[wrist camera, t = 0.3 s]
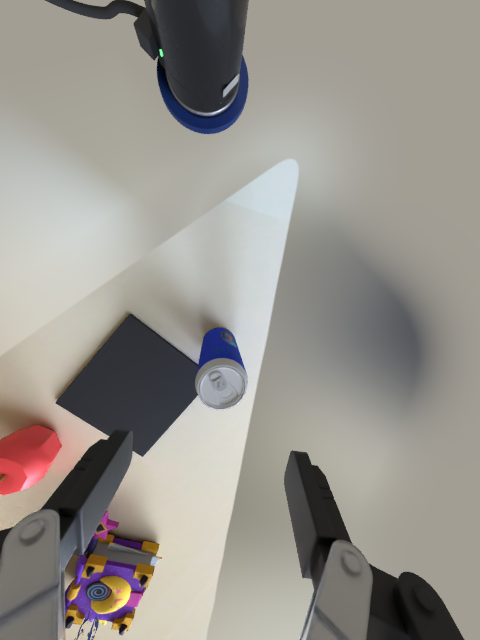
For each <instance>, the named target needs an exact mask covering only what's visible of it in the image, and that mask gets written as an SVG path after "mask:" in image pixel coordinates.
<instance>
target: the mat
mask: <svg viewBox="0 0 480 640" xmlns="http://www.w3.org/2000/svg"><path fill="white" fill-rule="evenodd" d="M197 369H198V365H197V364H196V363H195V362H193V361H192V360H191V359H189V358H188V357H187V356H186V355H184V354H183V353H182V352H180V351H179V350H178V349H176V348H175V347H174V346H172V345H171V344H170V343H168V342H167V341H166V340H165V339H163V338H162V337H161V336H159V335H158V334H157V333H155V332H154V331H153V330H151V329H150V328H149V327H148V326H146V325H145V324H144V323H142V322H141V321H140V320H138V319H137V318H136V317H134V316H133V315H132V314H129V315H128V317H127V318H126V319H125V320H124V321H123V323H122V324H121V325H120V326H119V327H118V329H117V330H116V331H115V332H114V333H113V335H112V336H111V337H110V338H109V339H108V341H107V342H106V343H105V344H104V345H103V347H102V348H101V349H100V350H99V351H98V353H97V354H96V355H95V356H94V357H93V358H92V360H91V361H90V362H89V363H88V364H87V366H86V367H85V368H84V369H83V370H82V372H81V373H80V374H79V375H78V376H77V378H76V379H75V380H74V381H73V382H72V384H71V385H70V386H69V387H68V388H67V390H66V391H65V392H64V393H63V394H62V396H61V397H60V398H59V399H58V400H57V401H56V404H58V405H59V406H61V407H63V408H64V409H66V410H68V411H69V412H71V413H72V414H74V415H76V416H77V417H79V418H80V419H82V420H84V421H85V422H87V423H89V424H90V425H92V426H93V427H95V428H97V429H98V430H100V431H102V432H103V433H105V434H106V435H108V436H110V435H111V434H112V433H113V431H114V430H115V429H123V430H131V431H133V446H132V451H134V452H136V453H137V454H139V455H141V456H142V457H143V456H144V455H145V454H146V453H147V451H148V450H149V449H150V448H151V447H152V446H153V445H154V444H155V443H156V441H157V440H158V439H159V438H160V437H161V436H162V435H163V434H164V432H165V431H166V430H167V429H168V428H169V427H170V426H171V425H172V423H173V422H174V421H175V420H176V419H177V418H178V417H179V416H180V414H181V413H182V412H183V411H184V410H185V409H186V408H187V407H188V406H189V404H190V403H191V402H192V401H193V400H194V399H195V398H196V397H197V395H198V394H197V391H196V388H195V379H196V374H197Z"/></svg>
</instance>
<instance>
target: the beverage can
mask: <svg viewBox="0 0 480 640" xmlns="http://www.w3.org/2000/svg"><path fill="white" fill-rule="evenodd" d="M247 386H248V377H247V374H246V371H245V368H244V365H243V362H242V359H241V355H240V352H239V349H238V346H237V343H236V340H235V337H234V335H233V334H232V333H231V332H230V331H229V330H227V329H225V328H214V329H212V330H210V331H209V332H208V333H207V334H206V335H205V337H204V339H203V343H202V348H201V354H200V359H199V364H198V369H197V374H196V379H195V388H196V391H197V394H198V396H199V398H200V400H201V401H202V402H203V403H204V404H205V405H206V406H208V407H210V408H212V409H216V410H225V409H229V408H231V407H234V406H235V405H237V404H238V403H239V402H240V401H241V400H242V398H243V397H244V395H245V392H246V389H247Z"/></svg>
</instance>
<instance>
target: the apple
mask: <svg viewBox="0 0 480 640" xmlns="http://www.w3.org/2000/svg"><path fill="white" fill-rule="evenodd" d="M61 447H62V445H61V443H60V441H59V439H58V437H57V434H56V432H55V431H52V430H50V429H47V428H45V427H42V426H40V425H35V426H31V427H27V428H24V429H20V430H18V431H16V432H14V433H12V434H10V435H9V436H7V437H5V438H3V439H1V440H0V494H1V495H6V494H10V493H13V492H17V491H20V490H23V489H26V488H28V487H31V486H34V485H35V484H36V483H37V482H38V481H40V480H41V479H42V478H43V477H44V476H45V474H46V472H47V471H48V469H49V467H50V466H51V464H52V462H53V461H54V459H55V457H56V455H57V454H58V452H59V450H60V448H61Z"/></svg>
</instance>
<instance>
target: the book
mask: <svg viewBox="0 0 480 640" xmlns="http://www.w3.org/2000/svg"><path fill="white" fill-rule="evenodd" d="M118 524H119V522H115V521H112V520H109V519H108V511H106V512H105V514H104V516H103V518H102V519H101V521H100V523H99V525H98V527H97V529H96V531H95V533H94V536H93V537H92V538H91V540H90V542H89V544H88V546H87V548H86V550H85V552H84V554H83V555H80V556H79V559H78V561H77V565H76V575H77V577H76V578H75V579H74V580H73V581H72V582H71V584H70V585H69V586H68V588H67V590H66V592H65V628H70V627H71V625H72V624H80V625H81V624H82V621H83V619H84V618H85V620H84V622H83V624H84V623H85V622H86V621H87V620H88V618H89V621H90V622H92V621H93V620H94V621H95V627H96V630H97V628H98V623H101V622H102V623H103V624H104V625H106V621H111V622H112V623H113V625H112V628H111V629H115V630H119V635H123V633H124V632H125V631H128V629H129V627H130V625H131V623H132V620H133V618H134V613H135V609H134V608H135V607H137V606H138V604H139V602H140V599H141V597H142V596H143V593H144V591H145V590H146V588H147V587H148V584H149V582H150V580H151V578H152V576H153V572H154V567H155V566H153V565H154V564H156V563H157V562H158V561H160V560H161V559H162V557H157V556H156V554H157V551H158V548H159V544H157V543H152V542H147V541H144V542H143V543H138V542H133V541H128V540H123V539H118V538H114V535H109V534H107V533H108V531H109V530H112V529H114V528H117V527H118ZM87 551H88V553H87ZM86 553H87V554H86ZM85 554H86V555H85ZM84 555H85V556H84ZM86 618H87V619H86ZM95 619H96V620H97V621H96V620H95ZM83 624H82V625H83ZM87 624H88V623H87ZM82 625H81V627H82ZM93 625H94V622H93ZM93 625H92V628H93ZM81 627H80V629H81ZM92 628H91V631H90V632H89V633H90V634H89V633H88V640H90V637H91V634H92ZM80 629H79V632H80ZM94 630H95V629H94ZM81 631H82V632H83V629H82V630H81ZM79 632H78V637H79V635H80V634H81V633H82V632H81V633H80V634H79ZM95 634H96V632H95ZM94 636H95V635H94ZM94 636H93V637H92V638H94ZM78 637H77V639H78ZM75 639H76V638H75ZM77 639H76V640H77ZM92 640H93V639H92Z"/></svg>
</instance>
